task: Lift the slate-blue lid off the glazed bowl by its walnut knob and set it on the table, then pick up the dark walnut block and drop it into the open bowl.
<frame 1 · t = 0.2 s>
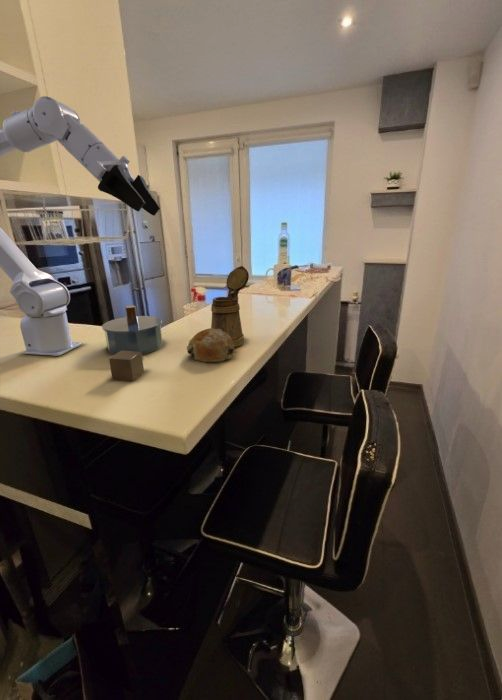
hand: (149, 209, 64), 31 cm above the table, tool tilted 45°, fingers open, 7 cm apart
bowl lid: (133, 325, 78), point 5 cm above the table, touching bowl
bowl: (136, 346, 80), on the table
block: (128, 375, 64), on the table
wooden mug: (231, 340, 85), on the table
bread roll: (210, 356, 74), on the table
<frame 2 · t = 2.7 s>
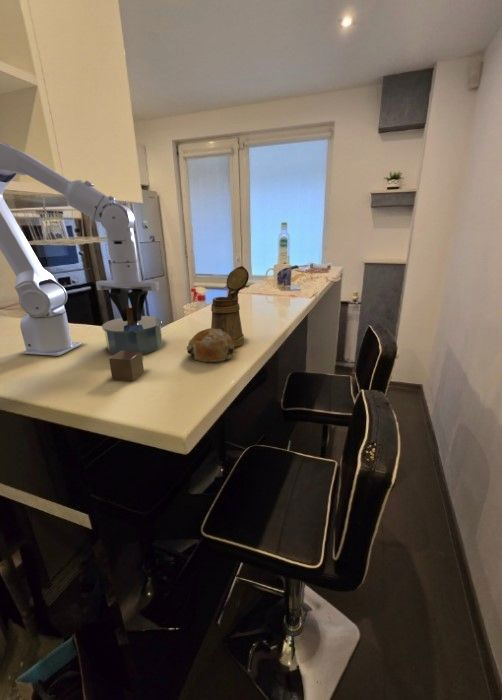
hand: (132, 320, 78), 7 cm above the table, tool pointing down, fingers closed on bowl lid, 2 cm apart
bowl lid: (132, 325, 78), point 6 cm above the table, touching bowl, gripper
everything else where it was.
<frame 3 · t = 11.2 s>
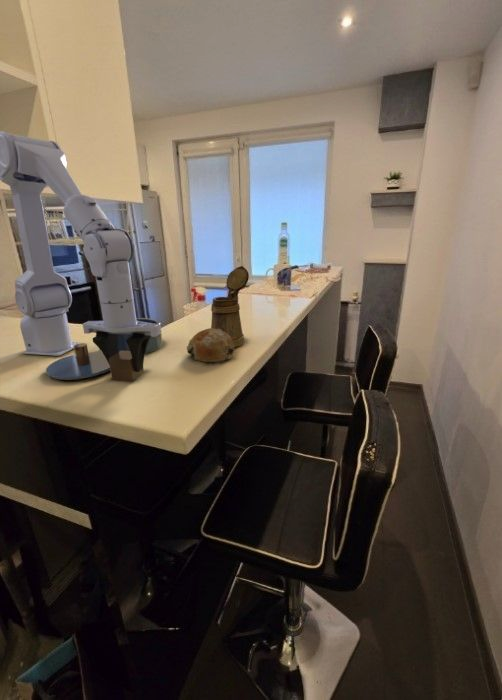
hand: (127, 369, 64), 1 cm above the table, tool pointing down, fingers closed on block, 4 cm apart
bowl lid: (84, 365, 68), point 1 cm above the table
block: (128, 375, 64), on the table, touching gripper
everything else where it was.
when the fingers open (4 cm above the table, at t = 15.8 s): block drops 2 cm, resting on bowl.
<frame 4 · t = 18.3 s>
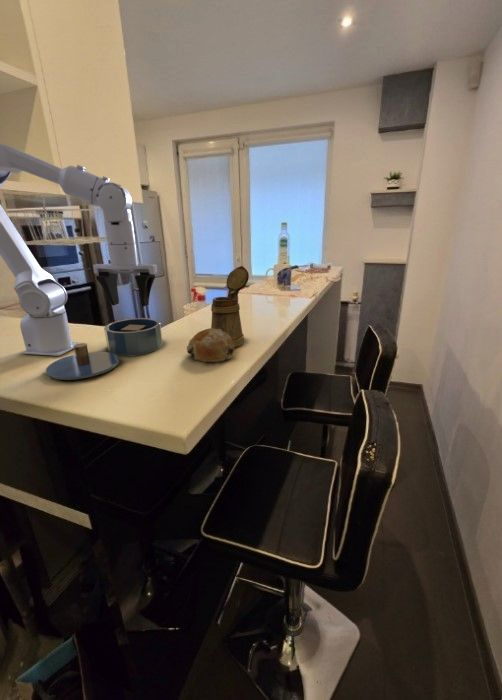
hand: (130, 304, 77), 10 cm above the table, tool pointing down, fingers open, 7 cm apart
block: (135, 344, 80), resting on bowl
everything else where it was.
at the end: bowl lid inside the target area (0.0 cm from its centre), point 0.6 cm above the table; bowl lid tilted 0°; block inside the target area in the bowl (0.0 cm from its centre), point 0.5 cm above the bowl's base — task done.
